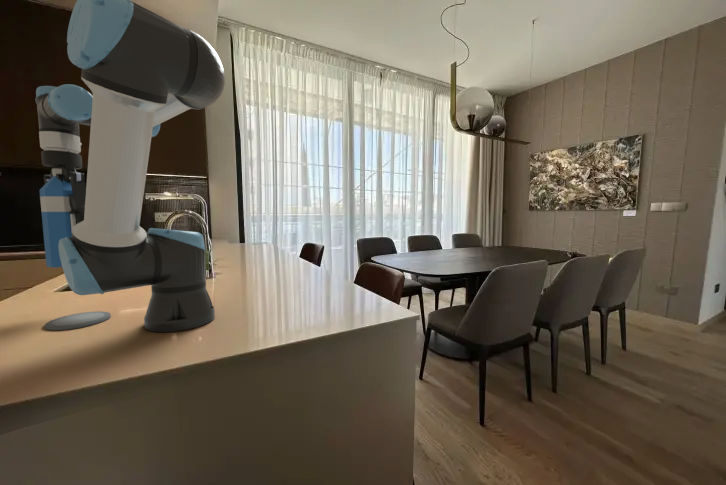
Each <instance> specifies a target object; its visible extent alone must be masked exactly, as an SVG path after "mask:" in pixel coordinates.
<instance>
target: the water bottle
mask: <svg viewBox="0 0 726 485" xmlns="http://www.w3.org/2000/svg"><path fill="white" fill-rule="evenodd" d="M52 174H53V177H52V178H51V179H50V180H49V181H48V182H47V183H46V184H45V183H44V185H43V186H41V188H40V189H39V200H40V208H41V209H40V210H41V219H42V221H41V222H42V232H43V243H44V253H45V265H46V267H47V268H62V264H61V260H60V255H59V248H58V244H59V240H60V239H63V238H66V237H70V238H72V230H71V219H70V213H69V212H70V211H71V207H70V204H69V194H73V192H72V187H71V183H67V182H65V181H64V179H63V182H61V181H60V180H58V179H57V178H56V174H62V169H55V168H54V169H52ZM84 206H85V205H84Z"/></svg>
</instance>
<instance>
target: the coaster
mask: <svg viewBox="0 0 726 485" xmlns="http://www.w3.org/2000/svg"><path fill="white" fill-rule="evenodd" d="M110 318H111V313H110V312H107V311H101V310H100V311H87V312H86V311H85V312H80V313H74V314H69V315H64V316H60V317H57V318H54V319H52V320H51V319H50V320H49V321H47V322H46V323H44V329H45V330H47V331H59V332H60V331H68V330H69V331H70V330H77V329H81V328H86V327H91V326H95V325H99V324H101V323H103V322H106V321H108V320H109V319H110Z"/></svg>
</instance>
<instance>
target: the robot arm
mask: <svg viewBox="0 0 726 485" xmlns="http://www.w3.org/2000/svg"><path fill="white" fill-rule="evenodd" d="M73 6H74V7H73V9H72V11H71V16H70V17H69V18H70V19H69V23H68V26H67V27H68V28H67V33H66V34H67V36H66V43H67V46H66V47H67V49H66V52H67V57H68V60H69V61H70V62H71V63H72V64H73V65H74V66H76V67H77V68H80V69H81V76H80V79H81V80H82V81H83V82H84V84H85V85H86V86H87V87H88V88H89V89H90V91H91V93H90V92H89V91H88V90H86V89H85V88H83V87H81V86H79V85H76V84H69V83H67V84H65V83H64V84H62V85H61V84H60V85H59V86H53V85H41V86H38V87H37V88H36V90H35V95H36V96H35V104H36V109H37V118H38V128H39V129H38V130H39V131H38V135H39V136H38V138H39V147H40V148H41V149H42V151H41V152H40V155H41V164H42V165H43V166H44V167H47V168H50V174H43V180H44V181H43V182H44V185H45V184H46V183H47V182H48V181H49V180H50V179H51V178H52V177H53V174H52V169H54V168H55V169H62V174H56V178H57V179H58V180H60V181H61V182H63V179H64V181H65V182H67V183H71V187H72V192H73V194H69V204H70V207H71V211H70V212H69V213H70V219H71V230H72V238H70V237H66V238H63V239H60V240H59V244H58V248H59V255H60V260H61V264H62V267H61V268H62V270H63V273H64V277H65V279H66V282H67V284H68V286H69V288H70V290H71V291H72V292H73V293H74V294H76V295H79V296H88V295H89V296H90V295H97V294H100V295H104V294H105V293H110V292H117V291H121V290H128V289H129V290H131V289H134V288H141V287H147V286H151V288H150V289H151V296H150V299H149V302H148V305H147V309H146V313H145V315H144V318H143V321H144V322H143V323H144V329H146V330H147V331H149V332H155V333H172V332H180V331H187V330H191V329H195V328H198V327H201V326H204V325H206V324H208V323H210V322H212V321H214V319H215V318H216V317H215V316H216V315H215V313H216V312H215V306H214V305H213V302H212V299H211V297H210V295H209V292H208V289H207V282H206V281H207V278H206V277H207V276H206V246H205V240H204V236H203V234H202V233H200V232H199V231H189V230H179V229H178V230H176V229H166V228H154V227H150V228H148V230H147V231H146V230H145V229H144V228H143V227H141V226H140V224H141V216H142V209H143V201H144V196H145V187H146V182H147V181H146V180H147V172H148V164H149V158H150V151H151V143H152V138H154V137H156V136H157V135H158V134H159V132H160V129H161V124H162V123H164V122H166V121H169V120H171V119H172V118H174V117H177V116H178V115H181V114H183V113H185V112H186V111H189V110H191V109H193V110H202V109H206V108H207V107H210V106H211V105H213V104H214V103H216V102H217V101H218V100H219V98H220V97H221V96H222V94H223V92H224V88H225V84H226V81H225V80H226V79H225V78H226V76H225V71H224V70H225V69H224V67H223V64H222V61H221V59H220V57H219V55H218V53H217V52H216V50H215V49H214V47H213V46H212V45H211V44H210V43H209V42H208V41H207V40H206V39H205V38H203V37H202V35H200V34H198V33H197V32H195V31H193V30H191V29H188V28H186V27H184V26H181V25H180V24H178V23H176V22H174V21H172V20H169V19H167V18H166V17H163V16H162V15H160V14H158V13H155V12H153V11H152V10H150V9H147V8H146V7H144V6H142V5H140V4H138V3H136V2H134V1H132V0H76V1H75V4H74V5H73ZM80 125H85V126H90V128H89V129H90V130H89V131H90V132H89V142H88V143H89V146H88V158H87V174H86V175H85V172H78V171H77V170H81V169H82V168H83V157H82V155H81V154H80V153H81V151H82V147H81V146H82V145H83V144H82V142H81V137H80V136H81V135H80ZM85 176H86V177H85ZM85 178H86V180H85ZM84 205H85V206H84Z"/></svg>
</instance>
